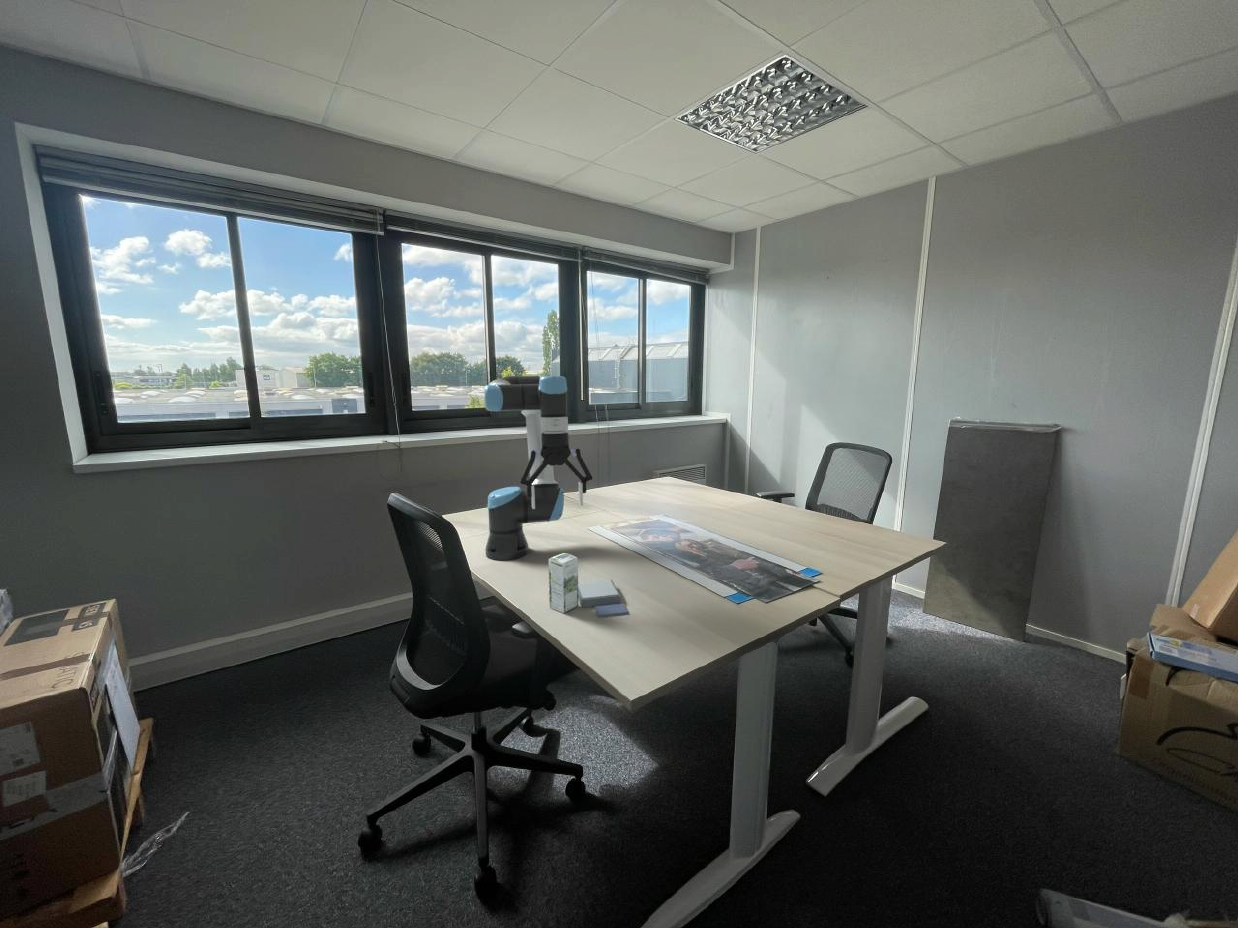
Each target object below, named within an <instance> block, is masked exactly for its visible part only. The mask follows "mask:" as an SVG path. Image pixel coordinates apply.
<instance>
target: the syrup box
mask: <svg viewBox="0 0 1238 928" xmlns="http://www.w3.org/2000/svg"><path fill="white" fill-rule="evenodd" d="M578 583H579V558H578V557H577V556H574V555H573V554H570V553H566V552H563V553H560V554H557V555H554V556H552V557H549V558H548V586H549V588H548V596H549V599H548V600H549V608H550V609H552V610H554V611H558V612H560V613H563V614H565V613H568V612H569V611H572V610H573V609H575V608H576V607H579V599H578Z"/></svg>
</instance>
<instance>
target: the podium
mask: <svg viewBox="0 0 1238 928" xmlns="http://www.w3.org/2000/svg"><path fill="white" fill-rule="evenodd" d="M621 598H622V597H621V594H620V592H619V590H618V588H617V586H616V585H615V583H614V581H613V579H606V580H605V579H604V580H597V581H587V582H578V603H580V605H579V606H580V607H581V608H590V607H591V608H592V607H596V606H605V605H614V604H622V603H621V602H622V601H621Z"/></svg>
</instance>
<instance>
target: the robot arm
mask: <svg viewBox="0 0 1238 928" xmlns="http://www.w3.org/2000/svg"><path fill="white" fill-rule="evenodd" d="M483 389H484V390H483V392H484V407H485V410H487V411H488V412H509V411H520V414H522V415H523V416H524V417H525V424H526V438H527V439H526V440H527V451H528V462H527V464H526V465H525V469H524V470H523V473H522V475H521V477H520V479H519V482H520V484H521V485H523V486H524V485H525V487H526V490H522V489H521V487H519V486H507V487H502V488H498V489H495V490H493V491H491V492H490V493H489V494H488V495H487V509H488V526H489V527H488V529H489V534H488V538H487V541H486V545H485V556H486V557H487V558H488V559H491V560H497V561H508V560H515V559H519V558H522V557H524V556H525V555H528V553H529V547H530V546H529V543H528V541H527V540H528V539H527V538H526V535H525V533H524V529H523V525H524V524H534V523H544V522H545V523H546V522H547V523H550V522H556V521H559V520H560V519H561V518H562V516H563V512H564V505H565V493H564V489H563V487H559V482H557V481H556V480H555V476H554V466H556V465H557V466H562V465H564V464H565V465H566V466H567V467H568V468H569V469H570V470H571V472H573V473H574V475H575V476H576V477H578V479H579V480H580V481H578V504H579V506H584V496H583V495H584V494H586V493H587V482H588V481H592V480H593V475H592V474H591V472H590V470H589V469H588V466H587V465H586V463H585V461H584V459H583V457H582V455H581V450H580V448H578V447H575V448H574V449H573V448H572V449H570V445H569V444H570V443H569V438H570V437H569V433H568V432H567V431H569V421H568V419H569V418H568V416H569V415H568V386H567V378H566V377H565V376H561V375H539V374H538V375H516V376H515V375H513V376H512V375H508V376H504V377H500V378H497V379H494V380H492V381H491V382H490V383H489V384H487V385H485V386H484V387H483ZM571 454H572V456H573V457H575V458H576V460H577V461H578V463H579V466H580V468H581V469H582V471H583V473H584V475H585V476H584V475H583V474H581V472H580V471H579V470H578V469H577V468H576V467H575V466H574V465H573V464H572V463H571V461H570V460H569V457H570V456H571ZM528 476H529V478H528ZM527 478H528V479H527Z"/></svg>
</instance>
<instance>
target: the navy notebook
mask: <svg viewBox="0 0 1238 928" xmlns="http://www.w3.org/2000/svg"><path fill="white" fill-rule="evenodd" d="M594 609H595V613H596V615H597V617H598V618H607V617H615V616H623V615H629V611H628V609H627V607H626V605H625V603H624V602H623V603H618V604H609V605H601V606H594Z"/></svg>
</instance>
